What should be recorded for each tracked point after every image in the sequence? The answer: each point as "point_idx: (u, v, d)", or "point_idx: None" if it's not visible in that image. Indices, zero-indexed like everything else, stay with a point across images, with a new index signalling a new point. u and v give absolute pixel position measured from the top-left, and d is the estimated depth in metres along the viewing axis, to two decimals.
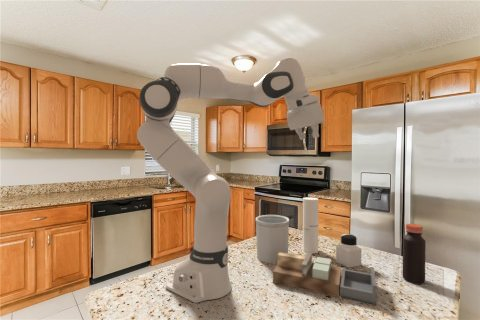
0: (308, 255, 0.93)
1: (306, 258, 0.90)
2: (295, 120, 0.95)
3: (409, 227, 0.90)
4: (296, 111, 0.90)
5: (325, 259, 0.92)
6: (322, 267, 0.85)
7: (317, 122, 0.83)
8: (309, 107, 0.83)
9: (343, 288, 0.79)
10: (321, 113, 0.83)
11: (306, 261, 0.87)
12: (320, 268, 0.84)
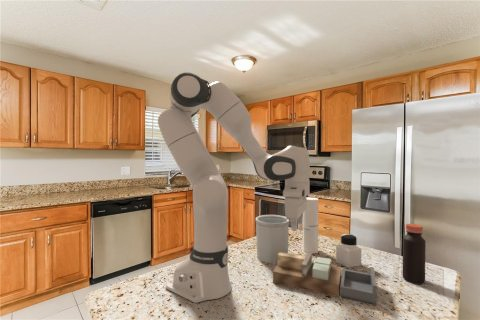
0: (308, 255, 0.93)
1: (306, 258, 0.90)
2: None
3: (409, 227, 0.90)
4: None
5: (325, 259, 0.92)
6: (322, 267, 0.85)
7: (287, 218, 0.83)
8: (285, 201, 0.84)
9: (343, 288, 0.79)
10: (294, 212, 0.82)
11: (306, 261, 0.87)
12: (320, 268, 0.84)
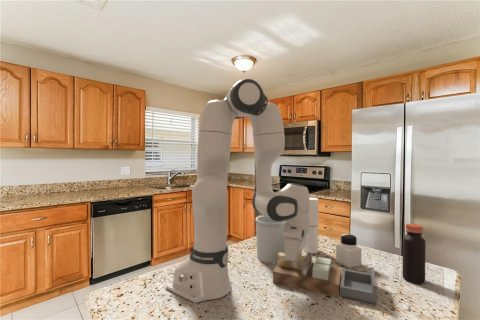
0: (308, 255, 0.93)
1: (306, 258, 0.90)
2: None
3: (409, 227, 0.90)
4: None
5: (325, 259, 0.92)
6: (322, 267, 0.85)
7: (287, 259, 0.83)
8: (284, 242, 0.84)
9: (343, 288, 0.79)
10: (293, 253, 0.82)
11: (306, 261, 0.87)
12: (320, 268, 0.84)
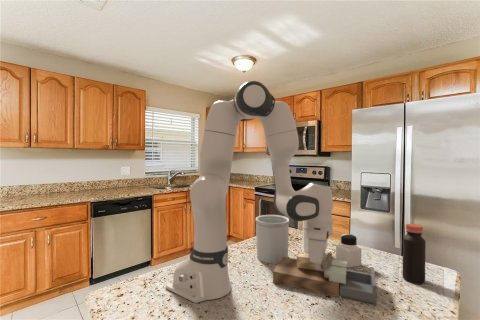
0: (328, 256, 0.90)
1: (326, 258, 0.87)
2: None
3: (409, 227, 0.90)
4: None
5: (341, 262, 0.89)
6: (339, 270, 0.83)
7: (312, 261, 0.80)
8: (308, 243, 0.81)
9: (343, 288, 0.79)
10: (318, 255, 0.79)
11: (328, 262, 0.85)
12: (337, 272, 0.82)
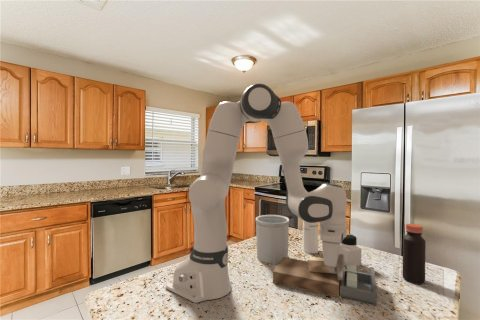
0: (340, 257, 0.88)
1: (338, 260, 0.86)
2: None
3: (409, 227, 0.90)
4: None
5: None
6: None
7: (326, 264, 0.78)
8: (323, 246, 0.79)
9: (343, 288, 0.79)
10: (333, 258, 0.77)
11: (340, 263, 0.83)
12: None
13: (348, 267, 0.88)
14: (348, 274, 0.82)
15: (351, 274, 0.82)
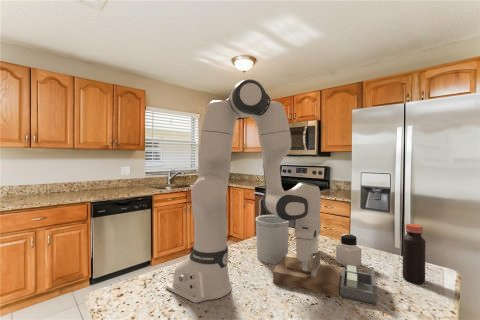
0: (316, 256, 0.91)
1: (314, 259, 0.89)
2: None
3: (409, 227, 0.90)
4: None
5: None
6: None
7: (299, 260, 0.82)
8: (296, 242, 0.83)
9: (343, 288, 0.79)
10: (305, 254, 0.81)
11: (315, 263, 0.86)
12: None
13: (348, 267, 0.88)
14: (348, 274, 0.82)
15: (351, 274, 0.82)
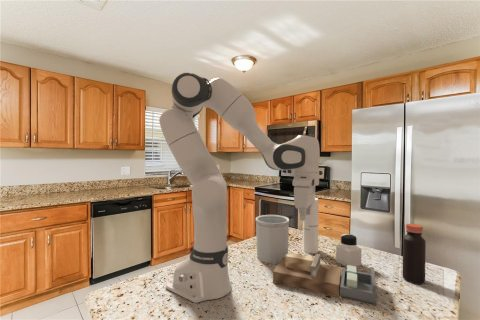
0: (316, 256, 0.91)
1: (314, 259, 0.89)
2: None
3: (409, 227, 0.90)
4: None
5: None
6: None
7: (296, 207, 0.82)
8: (294, 190, 0.83)
9: (343, 288, 0.79)
10: (303, 201, 0.81)
11: (315, 263, 0.86)
12: None
13: (348, 267, 0.88)
14: (348, 274, 0.82)
15: (351, 274, 0.82)
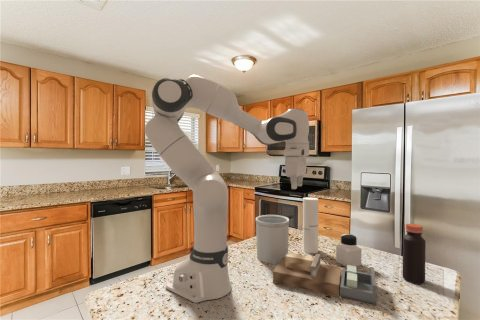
0: (316, 256, 0.91)
1: (314, 259, 0.89)
2: None
3: (409, 227, 0.90)
4: None
5: None
6: None
7: (288, 175, 0.87)
8: (285, 160, 0.88)
9: (343, 288, 0.79)
10: (293, 169, 0.86)
11: (315, 263, 0.86)
12: None
13: (348, 267, 0.88)
14: (348, 274, 0.82)
15: (351, 274, 0.82)
